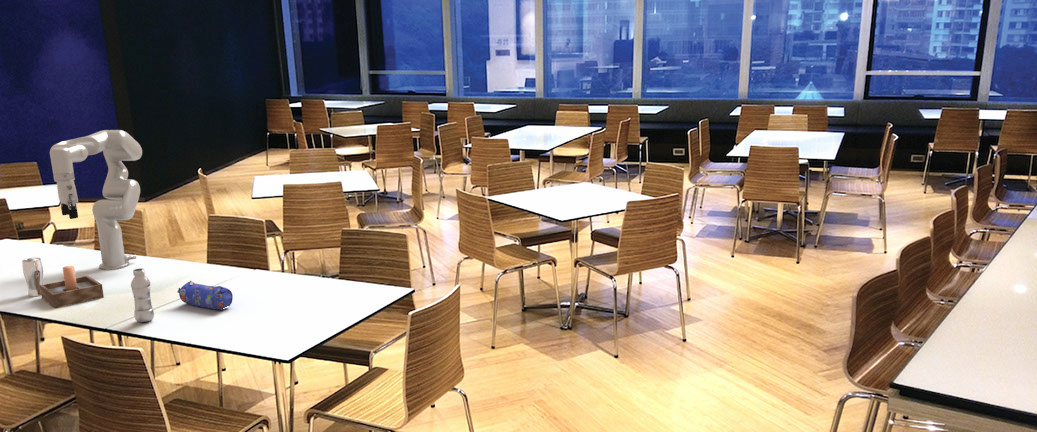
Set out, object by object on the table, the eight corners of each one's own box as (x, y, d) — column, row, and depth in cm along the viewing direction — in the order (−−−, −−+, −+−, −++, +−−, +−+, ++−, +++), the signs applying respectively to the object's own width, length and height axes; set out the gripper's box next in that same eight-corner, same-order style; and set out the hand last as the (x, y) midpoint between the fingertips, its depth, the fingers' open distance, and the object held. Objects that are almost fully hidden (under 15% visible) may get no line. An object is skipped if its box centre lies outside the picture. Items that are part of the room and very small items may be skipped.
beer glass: (50, 293, 327) (44, 258, 323) (34, 298, 320) (28, 262, 317) (39, 291, 329) (34, 256, 326) (23, 295, 323) (17, 261, 320)
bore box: (89, 287, 333) (87, 275, 331) (103, 297, 320) (102, 284, 319) (41, 298, 320) (39, 285, 319) (54, 308, 308) (52, 294, 306)
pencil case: (178, 306, 309) (175, 282, 307) (195, 299, 316) (193, 276, 314) (218, 313, 299) (215, 290, 297) (235, 307, 306) (233, 283, 304)
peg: (76, 293, 323) (72, 265, 320) (79, 295, 320) (75, 267, 317) (65, 295, 320) (61, 267, 317) (68, 297, 317) (64, 269, 315)
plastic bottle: (139, 318, 295) (132, 267, 290) (157, 317, 295) (151, 267, 291) (132, 324, 288) (125, 272, 284) (151, 323, 289) (144, 272, 284)
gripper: (80, 178, 324) (86, 218, 328) (67, 173, 336) (73, 212, 340) (60, 180, 319) (66, 221, 323) (47, 175, 331) (54, 215, 335)
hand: (70, 216), depth 331 cm, fingers open, 9 cm apart
